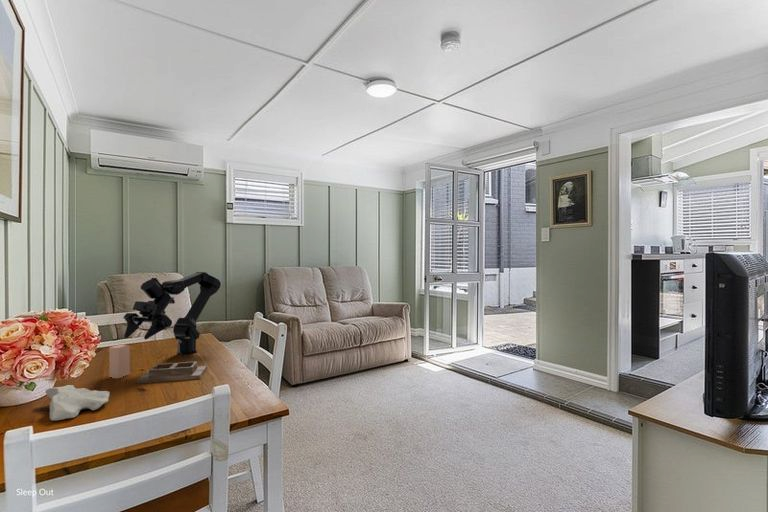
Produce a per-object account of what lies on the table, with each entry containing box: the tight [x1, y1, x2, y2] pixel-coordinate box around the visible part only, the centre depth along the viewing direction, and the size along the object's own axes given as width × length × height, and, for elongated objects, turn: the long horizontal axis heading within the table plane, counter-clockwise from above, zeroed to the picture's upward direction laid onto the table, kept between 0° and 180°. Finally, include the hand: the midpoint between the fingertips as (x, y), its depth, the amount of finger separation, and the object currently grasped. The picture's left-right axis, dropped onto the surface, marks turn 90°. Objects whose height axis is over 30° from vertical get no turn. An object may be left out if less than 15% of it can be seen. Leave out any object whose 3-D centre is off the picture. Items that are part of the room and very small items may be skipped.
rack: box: [136, 360, 208, 384], centre depth 137 cm, size 12×20×4 cm, turn 105°
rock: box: [45, 384, 110, 422], centre depth 109 cm, size 21×5×15 cm
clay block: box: [108, 344, 131, 379], centre depth 137 cm, size 4×4×11 cm
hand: (135, 338), depth 143 cm, fingers open, 9 cm apart
